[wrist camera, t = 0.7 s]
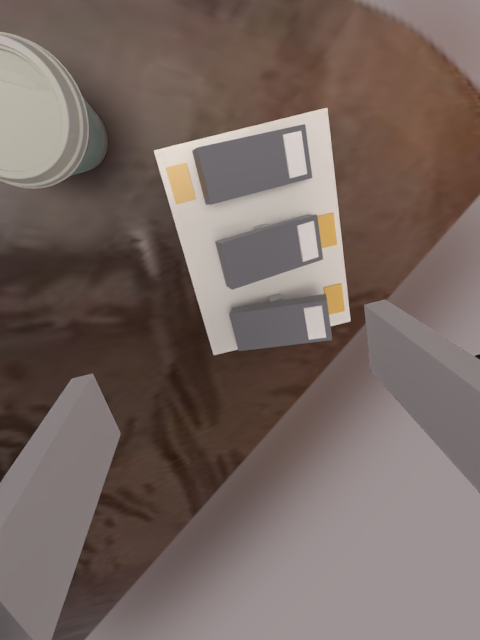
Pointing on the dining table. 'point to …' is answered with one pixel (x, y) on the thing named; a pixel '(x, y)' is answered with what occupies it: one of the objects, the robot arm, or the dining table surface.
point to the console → (250, 214)
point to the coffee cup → (43, 119)
